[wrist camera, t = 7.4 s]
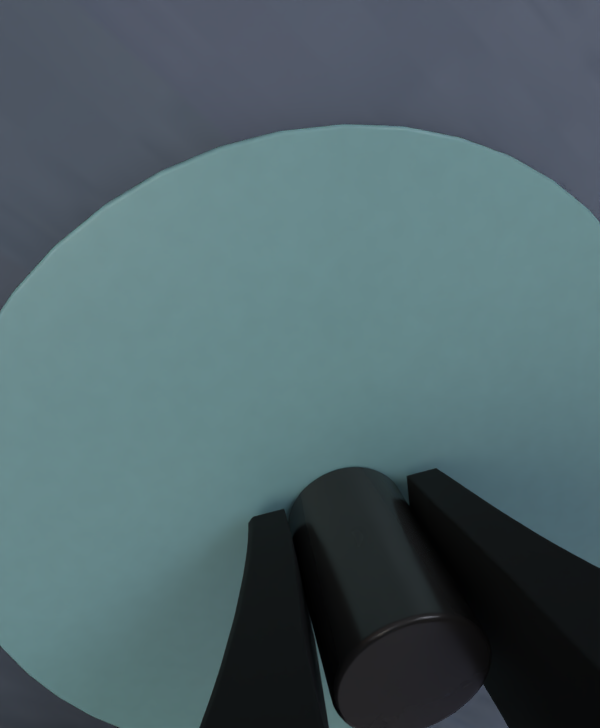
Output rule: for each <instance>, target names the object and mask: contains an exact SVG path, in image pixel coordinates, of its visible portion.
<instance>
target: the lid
mask: <svg viewBox="0 0 600 728" xmlns="http://www.w3.org/2000/svg"><path fill="white" fill-rule="evenodd" d="M434 468H437V469H438V470H440V471H441V472H443V473H445V474H446V475H448V476H449V477H451V478H452V479H454V480H455V481H457V482H458V483H460V484H461V485H463V486H464V487H465V488H467V489H468V490H470V491H471V492H473V493H474V494H476V495H477V496H479V497H480V498H482V499H483V500H485V501H486V502H488V503H490V504H491V505H493V506H494V507H496V508H497V509H499V510H500V511H502V512H503V513H505V514H507V515H508V516H510V517H511V518H513V519H515V520H516V521H518V522H519V523H521V524H523V525H524V526H526V527H528V528H529V529H531V530H532V531H534V532H536V533H537V534H539V535H541V536H542V537H544V538H546V539H547V540H549V541H551V542H553V543H554V544H556V545H558V546H560V547H562V548H563V549H565V550H567V551H569V552H571V553H572V554H574V555H576V556H578V557H580V558H582V559H583V560H585V561H587V562H589V563H591V564H593V565H595V566H597V567H599V568H600V222H599V221H598V220H597V219H596V218H595V216H594V215H593V214H592V213H591V212H590V211H589V209H587V208H586V207H585V206H584V205H582V204H581V203H580V202H579V201H578V200H576V199H575V198H574V197H573V196H571V195H570V194H569V193H568V192H567V191H565V190H564V189H563V188H562V187H561V186H559V185H558V184H557V183H556V182H554V181H553V180H552V179H550V178H548V177H546V176H545V175H543V174H541V173H539V172H538V171H536V170H534V169H532V168H531V167H529V166H527V165H525V164H524V163H522V162H520V161H518V160H517V159H515V158H513V157H511V156H510V155H507V154H504V153H501V152H499V151H496V150H493V149H490V148H488V147H485V146H482V145H480V144H477V143H474V142H471V141H469V140H466V139H463V138H461V137H456V136H451V135H446V134H441V133H436V132H431V131H426V130H420V129H415V128H410V127H405V126H383V125H358V124H339V125H329V126H320V127H311V128H302V129H293V130H284V131H277V132H273V133H269V134H265V135H261V136H257V137H253V138H250V139H246V140H242V141H238V142H234V143H230V144H226V145H223V146H219V147H216V148H214V149H211V150H209V151H207V152H204V153H202V154H199V155H197V156H195V157H192V158H190V159H188V160H185V161H183V162H180V163H178V164H176V165H173V166H171V167H168V168H166V169H164V170H161V171H159V172H158V173H156V174H154V175H153V176H151V177H149V178H148V179H146V180H144V181H143V182H141V183H139V184H138V185H136V186H134V187H133V188H131V189H129V190H128V191H126V192H124V193H123V194H121V195H119V196H118V197H116V198H114V199H113V200H111V201H109V202H108V203H106V204H105V205H104V206H103V207H101V208H100V209H99V210H98V211H96V212H95V213H94V214H93V215H92V216H90V217H89V218H88V219H87V220H85V221H84V222H83V223H82V224H81V225H79V226H78V227H77V228H76V229H74V230H73V231H72V232H71V233H70V234H68V235H67V236H66V237H65V238H63V239H62V240H61V241H60V242H59V243H57V244H56V245H55V246H54V247H53V248H52V249H51V250H50V251H49V252H48V253H47V255H46V256H45V257H44V258H43V259H42V260H41V261H40V262H39V263H38V265H37V266H36V267H35V268H34V269H33V270H32V271H31V272H30V273H29V274H28V276H27V277H26V278H25V279H24V280H23V281H22V282H21V283H20V284H19V286H18V287H17V288H16V289H15V290H14V291H13V292H12V294H11V295H10V297H9V299H8V300H7V302H6V303H5V305H4V306H3V308H2V309H1V311H0V646H1V647H2V648H3V649H4V650H5V651H6V652H7V653H8V654H9V655H10V656H11V657H12V658H13V659H14V660H15V661H16V662H17V663H18V664H19V665H20V666H21V667H22V668H23V669H24V670H25V671H26V672H27V673H28V674H29V675H30V676H31V677H32V678H34V679H35V680H36V681H38V682H39V683H40V684H42V685H43V686H44V687H46V688H47V689H48V690H50V691H51V692H52V693H54V694H55V695H56V696H58V697H59V698H61V699H62V700H64V701H66V702H68V703H69V704H71V705H73V706H75V707H77V708H78V709H80V710H82V711H84V712H85V713H87V714H89V715H91V716H93V717H95V718H97V719H100V720H102V721H105V722H107V723H110V724H112V725H114V726H117V727H119V728H199V727H200V725H201V722H202V719H203V716H204V713H205V711H206V708H207V705H208V702H209V700H210V697H211V694H212V691H213V688H214V685H215V682H216V679H217V675H218V672H219V669H220V666H221V663H222V659H223V655H224V652H225V648H226V645H227V641H228V638H229V634H230V630H231V627H232V623H233V619H234V615H235V611H236V606H237V602H238V597H239V592H240V588H241V583H242V578H243V573H244V566H245V560H246V553H247V544H248V523H249V521H250V520H251V519H252V517H254V516H258V515H262V514H265V513H269V512H273V511H277V510H280V509H284V510H285V513H286V517H287V520H288V524H289V527H290V531H291V534H292V539H293V543H294V548H295V552H296V557H297V561H298V566H299V570H300V575H301V579H302V584H303V590H304V595H305V599H306V603H307V607H308V611H309V615H310V619H311V624H312V628H313V633H314V637H315V643H316V649H317V655H318V662H319V668H320V674H321V680H322V687H323V693H324V699H325V706H326V712H327V718H328V724H329V728H426V727H429V726H431V725H433V724H436V723H438V722H440V721H442V720H443V719H445V718H447V717H449V716H450V715H452V714H453V713H455V712H456V711H458V710H459V709H460V708H461V707H463V706H464V705H465V704H466V703H467V702H468V701H469V700H470V699H471V698H472V697H473V696H474V695H475V694H476V693H477V692H478V690H479V689H480V687H481V686H482V685H483V683H484V681H485V679H486V677H487V675H488V672H489V670H490V666H491V660H492V652H491V644H490V641H489V637H488V635H487V634H486V632H485V630H484V629H483V627H482V625H481V624H480V622H479V620H478V619H477V617H476V615H475V614H474V612H473V610H472V609H471V607H470V605H469V604H468V602H467V601H466V599H465V597H464V596H463V594H462V592H461V591H460V589H459V587H458V586H457V584H456V582H455V581H454V579H453V577H452V576H451V574H450V572H449V571H448V569H447V567H446V566H445V564H444V563H443V561H442V559H441V558H440V556H439V554H438V553H437V551H436V549H435V548H434V546H433V544H432V543H431V541H430V539H429V538H428V536H427V534H426V533H425V531H424V530H423V528H422V526H421V525H420V523H419V521H418V520H417V518H416V516H415V515H414V513H413V511H412V510H411V508H410V506H409V496H408V486H407V476H408V475H412V474H416V473H419V472H423V471H427V470H431V469H434Z"/></svg>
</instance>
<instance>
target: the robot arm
mask: <svg viewBox="0 0 600 728" xmlns="http://www.w3.org/2000/svg"><path fill="white" fill-rule="evenodd" d="M407 486H408V496H409V506H410V508H411V510H412V511H413V513H414V515H415V516H416V518H417V520H418V521H419V523H420V525H421V526H422V528H423V530H424V531H425V533H426V534H427V536H428V538H429V539H430V541H431V543H432V544H433V546H434V548H435V549H436V551H437V553H438V554H439V556H440V558H441V559H442V561H443V563H444V564H445V566H446V567H447V569H448V571H449V572H450V574H451V576H452V577H453V579H454V581H455V582H456V584H457V586H458V587H459V589H460V591H461V592H462V594H463V596H464V597H465V599H466V601H467V602H468V604H469V605H470V607H471V609H472V610H473V612H474V614H475V615H476V617H477V619H478V620H479V622H480V624H481V625H482V627H483V629H484V630H485V632H486V634H487V635H488V637H489V641H490V644H491V652H492V660H491V666H490V670H489V672H488V675H487V677H486V679H485V681H484V683H483V684H484V686H485V688H486V689H487V691H488V693H489V694H490V696H491V698H492V699H493V701H494V703H495V704H496V706H497V708H498V710H499V711H500V713H501V715H502V716H503V718H504V720H505V722H506V724H507V725H508V727H509V728H600V568H599V567H597V566H595V565H593V564H591V563H589V562H587V561H585V560H583V559H582V558H580V557H578V556H576V555H574V554H572V553H571V552H569V551H567V550H565V549H563V548H562V547H560V546H558V545H556V544H554V543H553V542H551V541H549V540H547V539H546V538H544V537H542V536H541V535H539V534H537V533H536V532H534V531H532V530H531V529H529V528H528V527H526V526H524V525H523V524H521V523H519V522H518V521H516V520H515V519H513V518H511V517H510V516H508V515H507V514H505V513H503V512H502V511H500V510H499V509H497V508H496V507H494V506H493V505H491V504H490V503H488V502H486V501H485V500H483V499H482V498H480V497H479V496H477V495H476V494H474V493H473V492H471V491H470V490H468V489H467V488H465V487H464V486H463V485H461V484H460V483H458V482H457V481H455V480H454V479H452V478H451V477H449V476H448V475H446V474H445V473H443V472H441V471H440V470H438V469H437V468H434V469H431V470H427V471H423V472H419V473H416V474H412V475H408V476H407ZM199 728H329V724H328V718H327V712H326V706H325V699H324V693H323V687H322V680H321V674H320V668H319V662H318V655H317V649H316V643H315V637H314V633H313V628H312V624H311V619H310V615H309V611H308V607H307V603H306V599H305V595H304V590H303V584H302V579H301V575H300V570H299V566H298V561H297V557H296V552H295V548H294V543H293V539H292V534H291V531H290V527H289V524H288V520H287V517H286V513H285V510H284V509H280V510H277V511H273V512H269V513H265V514H262V515H258V516H254V517H252V519H251V520H250V521H249V523H248V544H247V553H246V560H245V566H244V573H243V578H242V583H241V588H240V592H239V597H238V602H237V606H236V611H235V615H234V619H233V623H232V627H231V630H230V634H229V638H228V641H227V645H226V648H225V652H224V655H223V659H222V663H221V666H220V669H219V672H218V675H217V679H216V682H215V685H214V688H213V691H212V694H211V697H210V700H209V702H208V705H207V708H206V711H205V713H204V716H203V719H202V722H201V725H200V727H199Z"/></svg>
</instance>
